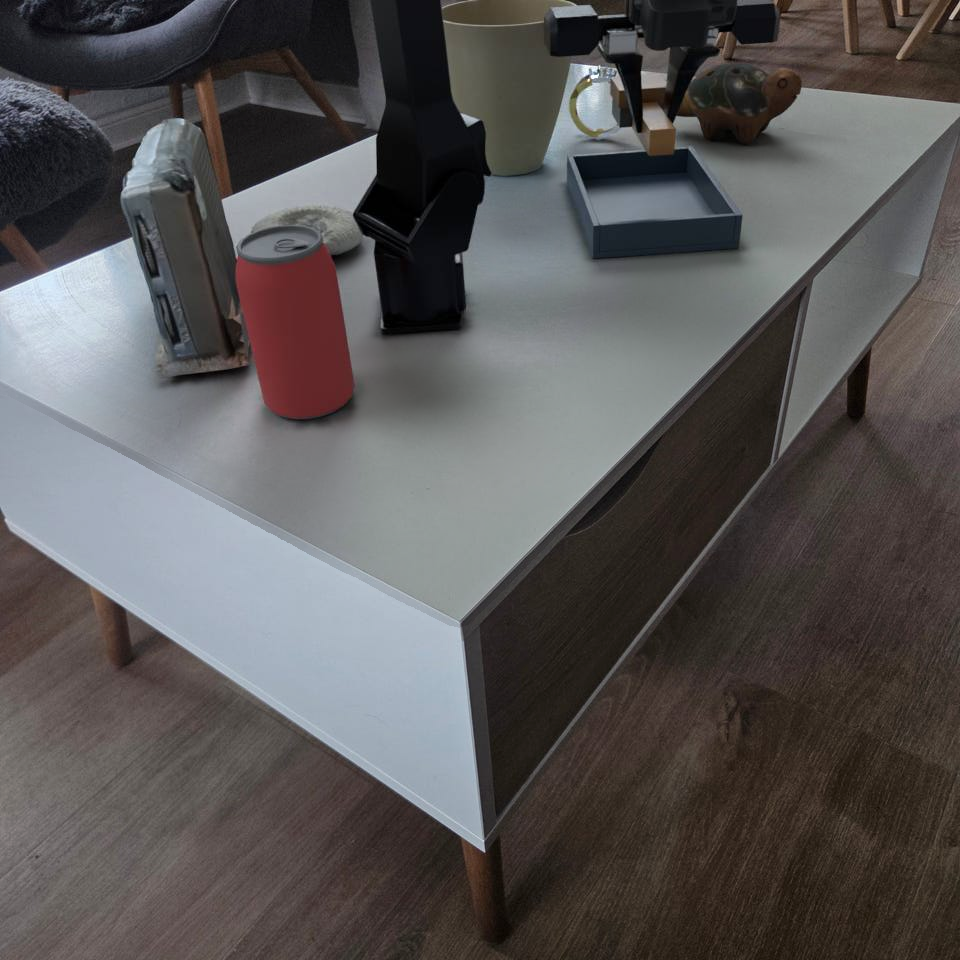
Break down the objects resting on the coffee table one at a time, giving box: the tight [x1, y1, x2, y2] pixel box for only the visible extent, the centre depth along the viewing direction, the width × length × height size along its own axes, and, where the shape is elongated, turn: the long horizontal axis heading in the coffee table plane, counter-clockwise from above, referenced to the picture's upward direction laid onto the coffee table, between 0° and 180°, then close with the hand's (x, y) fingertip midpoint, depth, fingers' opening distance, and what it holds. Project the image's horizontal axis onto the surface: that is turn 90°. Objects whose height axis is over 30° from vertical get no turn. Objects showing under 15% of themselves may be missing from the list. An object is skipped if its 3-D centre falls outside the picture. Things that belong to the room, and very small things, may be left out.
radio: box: [120, 117, 252, 379], centre depth 74 cm, size 23×9×15 cm, turn 5°
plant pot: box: [442, 0, 578, 177], centre depth 100 cm, size 15×15×16 cm
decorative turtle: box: [676, 62, 803, 146], centre depth 106 cm, size 10×15×8 cm, turn 62°
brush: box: [609, 73, 677, 156], centre depth 83 cm, size 13×5×3 cm, turn 3°
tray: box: [566, 145, 744, 260], centre depth 90 cm, size 13×19×3 cm
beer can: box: [235, 225, 356, 420], centre depth 63 cm, size 7×7×12 cm
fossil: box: [249, 204, 364, 256], centre depth 87 cm, size 11×4×10 cm
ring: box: [568, 64, 622, 141], centre depth 108 cm, size 7×3×8 cm, turn 69°
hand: (652, 131), depth 82 cm, fingers closed on brush, 2 cm apart
